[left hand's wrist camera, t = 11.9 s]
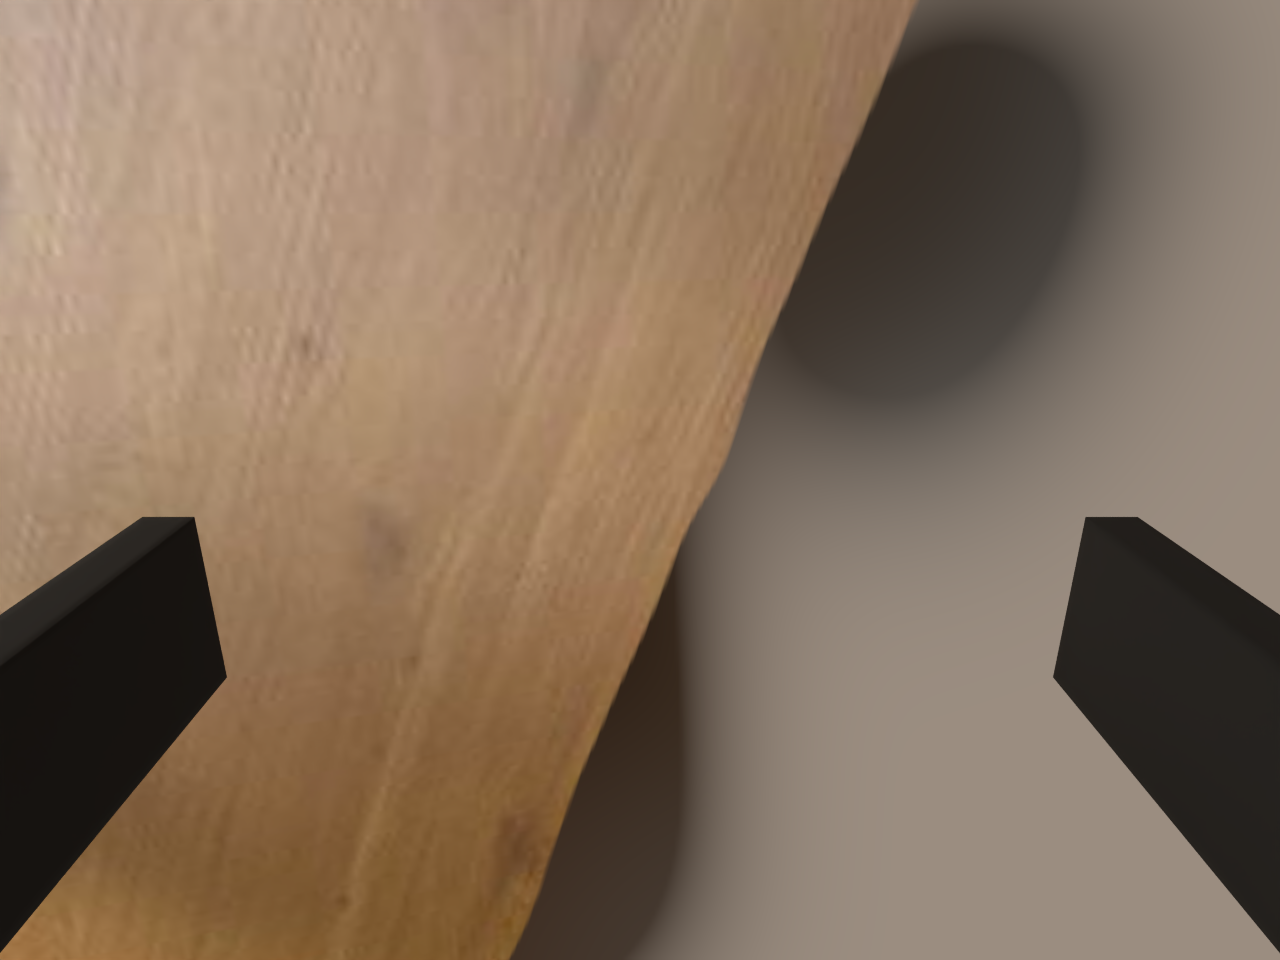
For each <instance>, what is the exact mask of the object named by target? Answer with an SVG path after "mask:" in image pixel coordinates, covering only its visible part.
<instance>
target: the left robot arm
mask: <svg viewBox="0 0 1280 960" xmlns="http://www.w3.org/2000/svg"><path fill="white" fill-rule="evenodd" d="M226 678H227V675H226V670H225V666H224V661H223V656H222V651H221V646H220V641H219V636H218V631H217V626H216V621H215V616H214V611H213V606H212V602H211V597H210V592H209V587H208V582H207V577H206V572H205V567H204V562H203V557H202V552H201V547H200V542H199V538H198V533H197V528H196V523H195V518H194V517H142V518H140V519H139V520H137V521H136V522H135V523H133V524H132V525H130V526H129V527H127V528H126V529H124V530H123V531H121V532H120V533H119V534H117V535H116V536H114V537H113V538H111V539H110V540H108V541H107V542H105V543H104V544H103V545H101V546H100V547H98V548H97V549H95V550H94V551H92V552H91V553H89V554H88V555H87V556H85V557H84V558H82V559H81V560H79V561H78V562H76V563H75V564H73V565H72V566H71V567H69V568H68V569H66V570H65V571H63V572H62V573H60V574H59V575H57V576H56V577H55V578H53V579H52V580H50V581H49V582H47V583H46V584H44V585H43V586H41V587H40V588H39V589H37V590H36V591H34V592H33V593H31V594H30V595H28V596H27V597H25V598H24V599H23V600H21V601H20V602H18V603H17V604H15V605H14V606H12V607H11V608H9V609H8V610H7V611H5V612H4V613H2V614H1V615H0V952H1V951H2V950H3V949H4V948H5V946H6V945H7V944H8V943H9V942H10V940H11V939H12V938H13V937H14V935H15V934H16V933H17V932H18V931H19V929H20V928H21V927H22V926H23V925H24V923H25V922H26V921H27V920H28V918H29V917H30V916H31V915H32V914H33V912H34V911H35V910H36V909H37V907H38V906H39V905H40V904H41V903H42V901H43V900H44V899H45V898H46V897H47V895H48V894H49V893H50V892H51V890H52V889H53V888H54V887H55V886H56V884H57V883H58V882H59V881H60V880H61V878H62V877H63V876H64V875H65V873H66V872H67V871H68V870H69V869H70V867H71V866H72V865H73V864H74V862H75V861H76V860H77V859H78V858H79V856H80V855H81V854H82V853H83V852H84V850H85V849H86V848H87V847H88V845H89V844H90V843H91V842H92V841H93V839H94V838H95V837H96V836H97V835H98V833H99V832H100V831H101V830H102V828H103V827H104V826H105V825H106V824H107V822H108V821H109V820H110V819H111V817H112V816H113V815H114V814H115V813H116V811H117V810H118V809H119V808H120V807H121V805H122V804H123V803H124V802H125V800H126V799H127V798H128V797H129V796H130V794H131V793H132V792H133V791H134V790H135V788H136V787H137V786H138V785H139V783H140V782H141V781H142V780H143V779H144V777H145V776H146V775H147V774H148V772H149V771H150V770H151V769H152V768H153V766H154V765H155V764H156V763H157V762H158V760H159V759H160V758H161V757H162V755H163V754H164V753H165V752H166V751H167V749H168V748H169V747H170V746H171V745H172V743H173V742H174V741H175V740H176V738H177V737H178V736H179V735H180V734H181V732H182V731H183V730H184V729H185V728H186V726H187V725H188V724H189V723H190V721H191V720H192V719H193V718H194V717H195V715H196V714H197V713H198V712H199V710H200V709H201V708H202V707H203V706H204V704H205V703H206V702H207V701H208V700H209V698H210V697H211V696H212V695H213V693H214V692H215V691H216V690H217V689H218V687H219V686H220V685H221V684H222V683H223V681H224V680H225V679H226ZM1053 678H1054V679H1055V680H1056V681H1057V683H1058V684H1059V685H1060V686H1061V687H1062V689H1063V690H1064V691H1065V692H1066V693H1067V695H1068V696H1069V697H1070V698H1071V700H1072V701H1073V702H1074V703H1075V704H1076V706H1077V707H1078V708H1079V709H1080V710H1081V712H1082V713H1083V714H1084V715H1085V717H1086V718H1087V719H1088V720H1089V721H1090V723H1091V724H1092V725H1093V726H1094V728H1095V729H1096V730H1097V731H1098V732H1099V734H1100V735H1101V736H1102V737H1103V738H1104V740H1105V741H1106V742H1107V743H1108V744H1109V746H1110V747H1111V748H1112V749H1113V751H1114V752H1115V753H1116V754H1117V755H1118V757H1119V758H1120V759H1121V760H1122V762H1123V763H1124V764H1125V765H1126V766H1127V768H1128V769H1129V770H1130V771H1131V772H1132V774H1133V775H1134V776H1135V777H1136V779H1137V780H1138V781H1139V782H1140V783H1141V785H1142V786H1143V787H1144V788H1145V790H1146V791H1147V792H1148V793H1149V794H1150V796H1151V797H1152V798H1153V799H1154V800H1155V802H1156V803H1157V804H1158V805H1159V807H1160V808H1161V809H1162V810H1163V811H1164V813H1165V814H1166V815H1167V816H1168V817H1169V819H1170V820H1171V821H1172V822H1173V824H1174V825H1175V826H1176V827H1177V828H1178V830H1179V831H1180V832H1181V833H1182V834H1183V836H1184V837H1185V838H1186V839H1187V841H1188V842H1189V843H1190V844H1191V845H1192V847H1193V848H1194V849H1195V850H1196V852H1197V853H1198V854H1199V855H1200V856H1201V858H1202V859H1203V860H1204V861H1205V862H1206V864H1207V865H1208V866H1209V867H1210V869H1211V870H1212V871H1213V872H1214V873H1215V875H1216V876H1217V877H1218V878H1219V879H1220V881H1221V882H1222V883H1223V884H1224V886H1225V887H1226V888H1227V889H1228V890H1229V892H1230V893H1231V894H1232V895H1233V897H1234V898H1235V899H1236V900H1237V901H1238V903H1239V904H1240V905H1241V906H1242V907H1243V909H1244V910H1245V911H1246V912H1247V914H1248V915H1249V916H1250V917H1251V918H1252V920H1253V921H1254V922H1255V923H1256V924H1257V926H1258V927H1259V928H1260V929H1261V931H1262V932H1263V933H1264V934H1265V935H1266V937H1267V938H1268V939H1269V940H1270V942H1271V943H1272V944H1273V945H1274V946H1275V948H1276V949H1277V950H1278V951H1279V952H1280V615H1279V614H1278V613H1276V612H1275V611H1273V610H1272V609H1271V608H1269V607H1268V606H1266V605H1265V604H1263V603H1262V602H1260V601H1259V600H1257V599H1256V598H1254V597H1253V596H1251V595H1250V594H1249V593H1247V592H1246V591H1244V590H1243V589H1241V588H1240V587H1239V586H1237V585H1236V584H1234V583H1233V582H1231V581H1230V580H1228V579H1227V578H1225V577H1224V576H1223V575H1221V574H1220V573H1218V572H1217V571H1215V570H1214V569H1212V568H1211V567H1209V566H1208V565H1206V564H1205V563H1204V562H1202V561H1201V560H1199V559H1198V558H1196V557H1195V556H1193V555H1192V554H1190V553H1189V552H1188V551H1186V550H1185V549H1183V548H1182V547H1180V546H1179V545H1177V544H1176V543H1175V542H1173V541H1172V540H1170V539H1169V538H1167V537H1166V536H1164V535H1163V534H1161V533H1160V532H1159V531H1157V530H1156V529H1154V528H1153V527H1151V526H1150V525H1148V524H1147V523H1145V522H1144V521H1143V520H1141V519H1140V518H1138V517H1086V518H1085V523H1084V528H1083V533H1082V538H1081V542H1080V547H1079V552H1078V557H1077V562H1076V567H1075V572H1074V577H1073V582H1072V587H1071V592H1070V597H1069V602H1068V606H1067V611H1066V616H1065V621H1064V626H1063V631H1062V636H1061V641H1060V646H1059V651H1058V656H1057V661H1056V666H1055V670H1054V675H1053Z"/></svg>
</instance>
